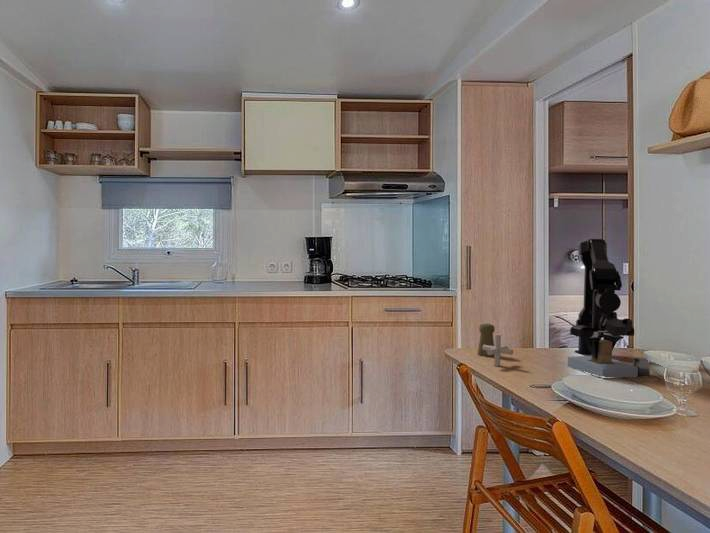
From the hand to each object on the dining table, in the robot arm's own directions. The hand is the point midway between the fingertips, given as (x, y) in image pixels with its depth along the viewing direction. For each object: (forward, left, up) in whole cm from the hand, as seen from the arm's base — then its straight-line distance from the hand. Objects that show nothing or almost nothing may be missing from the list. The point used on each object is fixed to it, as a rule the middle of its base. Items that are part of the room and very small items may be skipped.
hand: (601, 358), depth 156 cm
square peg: (0, 0, -2) cm, 3 cm away
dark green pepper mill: (-28, -24, -4) cm, 37 cm away
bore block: (0, 0, -4) cm, 4 cm away
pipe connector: (-13, -28, -4) cm, 31 cm away
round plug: (+6, +9, -4) cm, 12 cm away
